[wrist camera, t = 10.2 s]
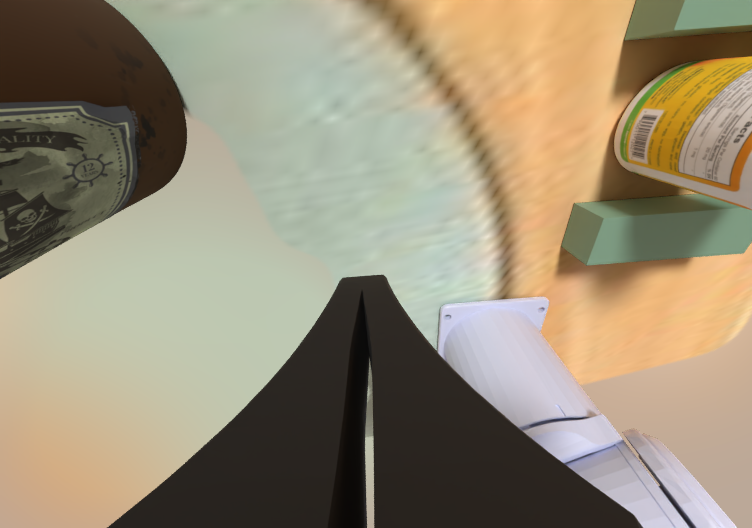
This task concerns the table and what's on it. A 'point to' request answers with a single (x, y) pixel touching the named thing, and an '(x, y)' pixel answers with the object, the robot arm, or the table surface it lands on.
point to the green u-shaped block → (668, 213)
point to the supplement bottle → (693, 129)
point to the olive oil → (78, 122)
